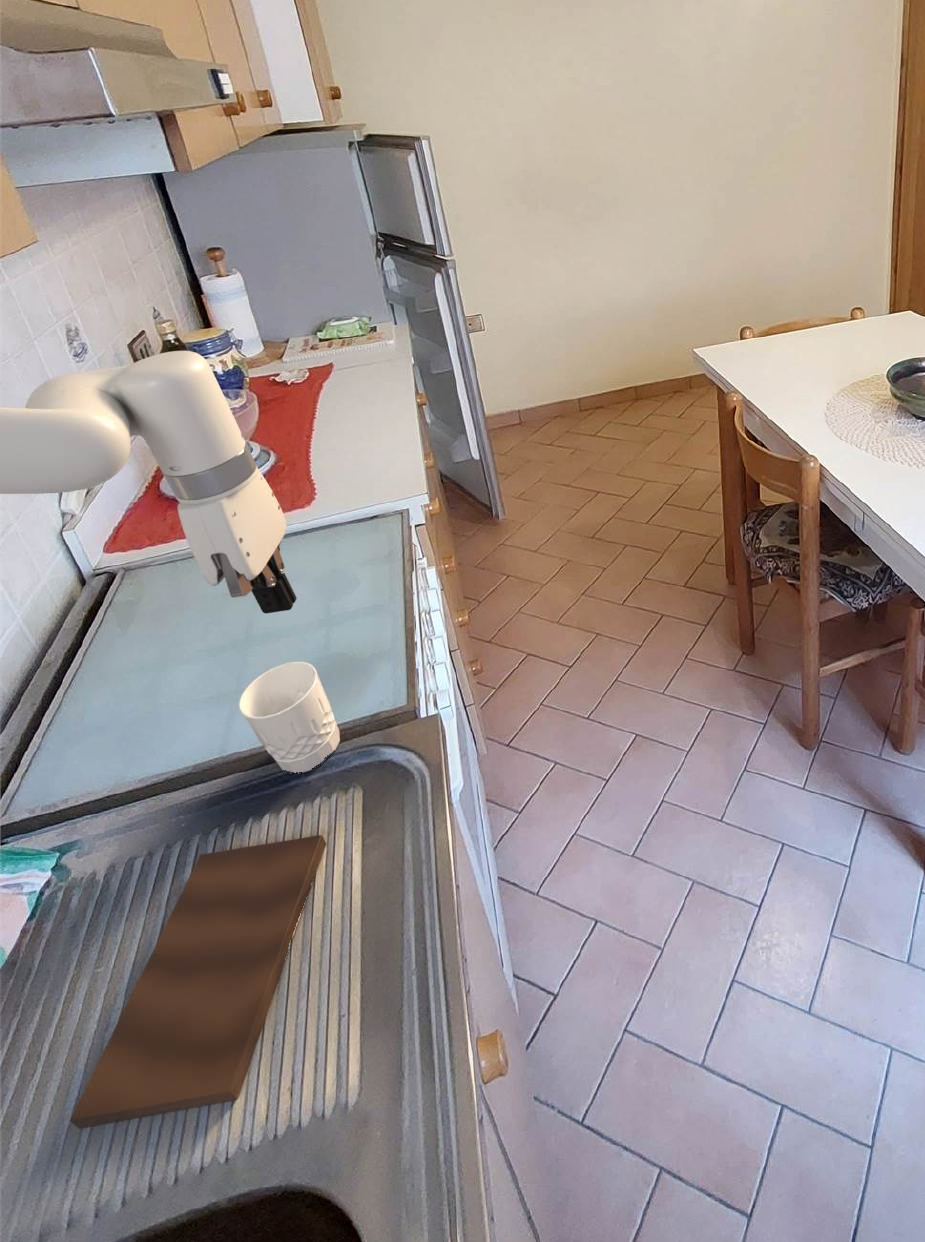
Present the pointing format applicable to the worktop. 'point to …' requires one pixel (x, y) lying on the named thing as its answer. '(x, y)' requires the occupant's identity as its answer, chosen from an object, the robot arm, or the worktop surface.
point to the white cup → (291, 716)
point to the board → (204, 986)
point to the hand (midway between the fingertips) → (280, 606)
